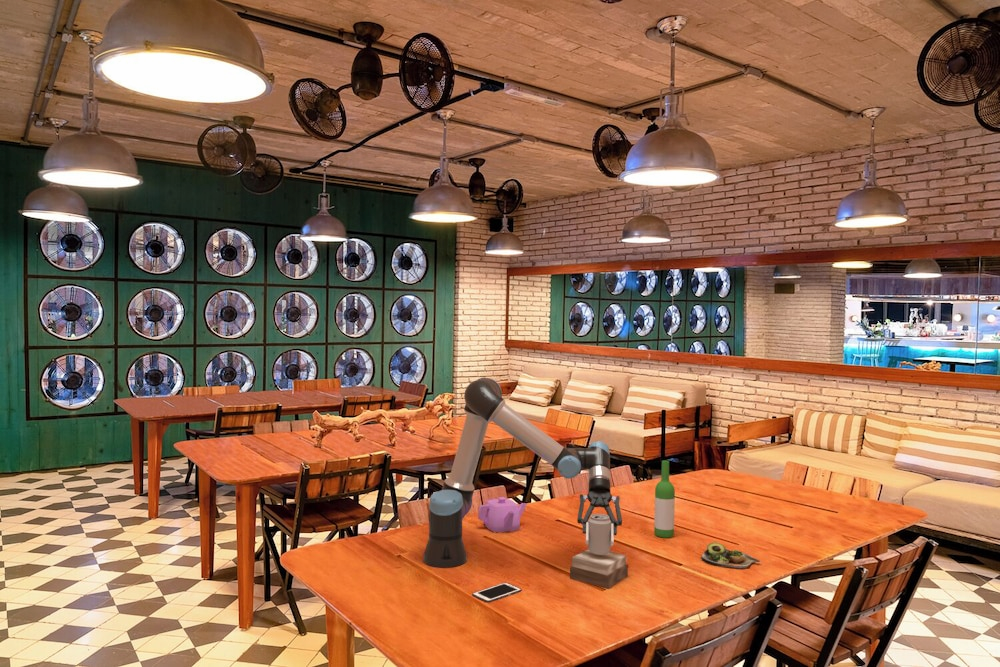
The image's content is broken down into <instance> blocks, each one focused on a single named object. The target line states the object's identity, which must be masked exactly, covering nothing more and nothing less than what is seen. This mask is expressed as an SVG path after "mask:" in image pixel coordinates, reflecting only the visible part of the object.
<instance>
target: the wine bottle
mask: <svg viewBox="0 0 1000 667" xmlns="http://www.w3.org/2000/svg"><path fill="white" fill-rule="evenodd" d="M654 489H655V490H654V522H653V523H654V528H653V529H654V530H653V531H654V532H653V533H654V535H655V536H656V537H659V538H662V539H668V538H672V537H674V535H675V504H676V503H675V500H676V498H675V496H676V495H675V493H676V492H675V491H676V489H675V487H674V484H673V483H672V482H670V460H665V459H664V460H661V475H660V481H659V482H657V483H656V485H655V488H654Z"/></svg>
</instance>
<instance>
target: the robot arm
mask: <svg viewBox="0 0 1000 667" xmlns="http://www.w3.org/2000/svg"><path fill="white" fill-rule="evenodd" d="M501 387H502V386H500V384H499V383H498V382H497V381H496V380H495V379H493V378H489V377H481V378H478V379H476V380H472V382H470V383H469V384H468V385H467V386H466V388H465V390H464V394H463V396H464V397H463V398H464V402H465V405H464V408H463V410H464V413H465V414H466V417H465V420H464V425H463V427H462V431H461V434H460V435H461V436H460V439H459V442H458V446H457V450H456V453H455V457H454V461H453V463H452V468H451V470H450V474H449V476H448V477H447V478H446V479H444V481H443V483H442V488H441V490H439V491H437V490H436V491H434V493H432V494H431V495H430V497H429V503H428V507H429V508H428V509H429V511H428V514H429V515H428V521H429V522H428V540H427V543H426V547H425V550H424V552H423V562H424V564H426V565H427V566H431V567H437V568H453V567H459V566H461V565H463V564H464V565H465V563H467V557H468V556H467V554H468V553H467V550H466V549H465V544H464V541H463V519H465V516H466V515H467V514H468V513H469V512H470V510H471V508H472V506H473V496H474V493H475V490H476V489H475V485H474V484H473V481H474V476H475V473H476V469H477V466H478V462H479V459H480V456H481V452H482V448H483V445H484V441H485V437H486V434H487V430H488V427H489V423H494V424H495V425H497V426H498V427H499V428H500V429H502V430H503V431H505V432H506V433H507V434H509V435H510V436H511V437H513V438H514V439H515V440H517V441H518V442H520V444H522V445H524V446H525V447H526V448H527V449H529V450H530V451H531V452H533V453H534V454H536V455H537V456H539V457H540V458H541V459H542V460H544V461H545V462H546V463H548V464H549V465H551V466H552V467H553V468H554V469H556V470H557V471H558V473H559V474H560V476H562V478H565V479H567V480H569V479H573V478H576V477H577V476H578V475H580V474H579V473H580V472H581V470H588V492H587V494H585V495H584V494H580V495H579V507H578V513H577V519H576V520H577V524H580V525H582V534H584V535H585V545H588V530H589V524H588V520H589V519H590V518H591V517H590V516H591V515H592V513H593V511H594V510H595V508H603V509H604V510H605V512H606V515H608V516H609V519H610V520H611V547H612V546H614V544H615V542H614V538H615V537H614V536H617V534H618V526H622V525H623V517H622V512H621V507H620V499H621V498H620V496H619V495H617V496H614V495H613V496H612V493H611V454H610V447H609V445H608V443H606V442H604V441H598V440H597V441H595V442H591V443H590V444H589V446H588V447H586V448H583V447H582V448H581V447H578V448H577V447H564V446H563V445H561V444H560V443H559V442H557V441H556V440H555V439H554V438H553V437H551V436H550V435H548V434H547V433H545V432H544V431H543V430H541V429H540V428H538V427H537V426H536V425H534V424H533V423H532V422H530V421H529V420H528V419H527V418H525V417H524V416H522V415H521V414H520V413H518V412H517V411H516V410H514V409H513V408H512V407H510V406H509V405H507V404H506V399H504V398H503V392H502V388H501ZM587 500H588V502H589V503H590V504H589V505H588V508H587V510H586V513H584V514H585V515H584V517H583V512H584V507H585V502H587ZM610 502H612V503H613V504H614V508H615V515H616V517H615V515H614V512H613V511H612V508H611V505H610ZM582 517H583V518H582Z"/></svg>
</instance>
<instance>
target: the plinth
mask: <svg viewBox="0 0 1000 667" xmlns="http://www.w3.org/2000/svg"><path fill="white" fill-rule="evenodd" d="M628 574H629V564H627V555H625V554H623V553H622V554H621V553H617V552H613V551H610V552H608V553H607V554H605V555H597V554H593V553H591V552H590V551H589V550H588V549H586V550H584V551H581V552H580V553H578V554H576V555H573V556H572V557H571V565H570V566H569V579H570V580H573V581H578V582H580V583H584V584H588V585H592V586H596V587H600V588H602V589H603V588H604V589H607V590H608V589H610V588H612V587H613V586H615V585H616V584H619V583H620V582H622V581H623V580H625V579H626V578H628V576H629V575H628Z"/></svg>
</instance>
